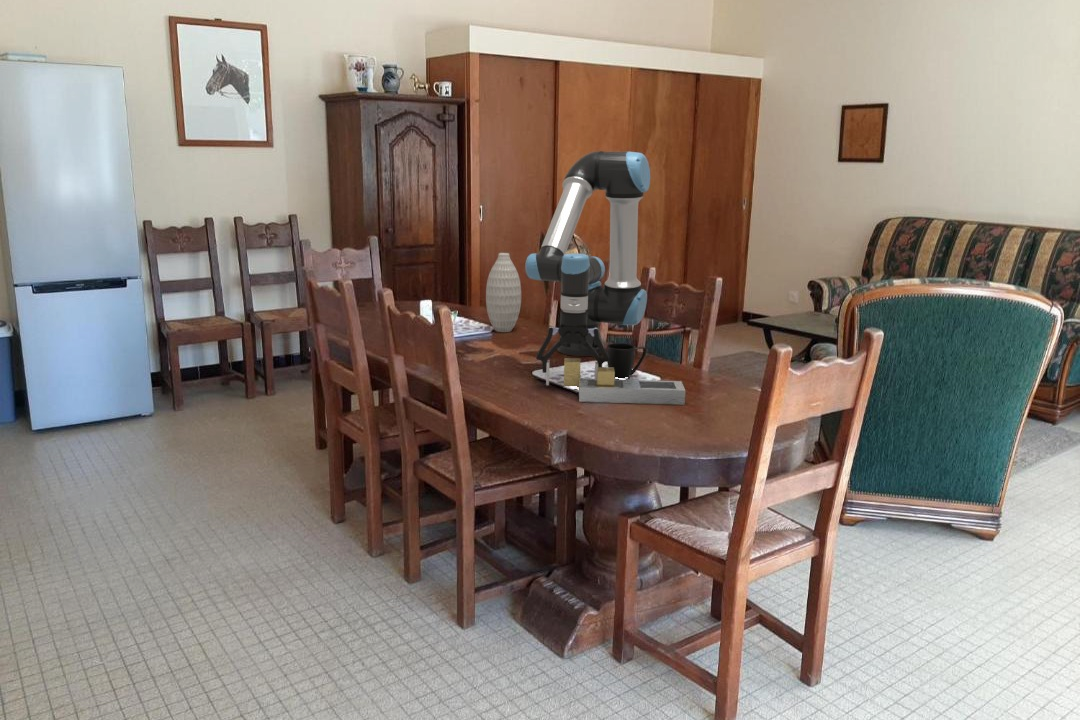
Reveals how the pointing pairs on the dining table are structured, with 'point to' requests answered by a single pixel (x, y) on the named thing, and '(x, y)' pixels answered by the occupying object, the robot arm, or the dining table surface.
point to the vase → (503, 294)
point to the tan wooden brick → (605, 376)
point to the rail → (633, 392)
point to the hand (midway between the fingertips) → (571, 384)
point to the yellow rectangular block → (572, 371)
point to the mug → (623, 358)
